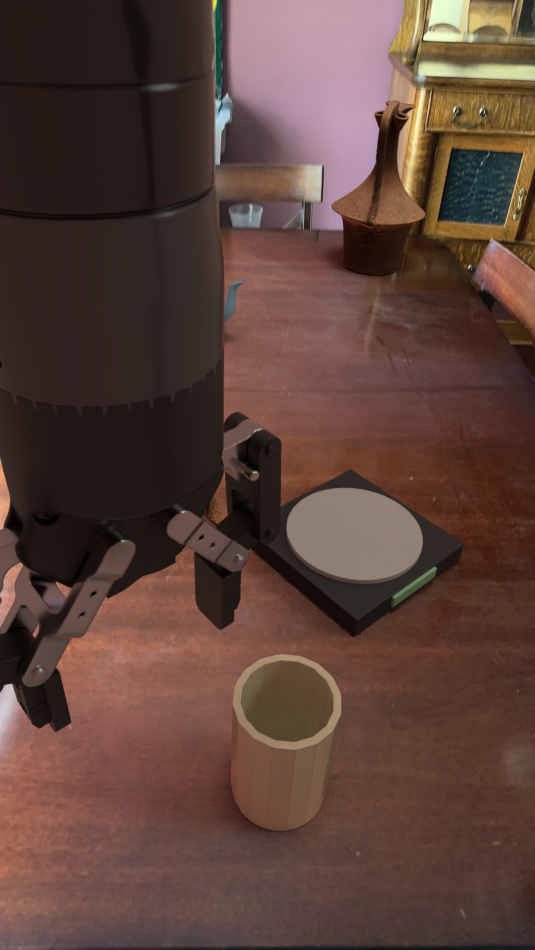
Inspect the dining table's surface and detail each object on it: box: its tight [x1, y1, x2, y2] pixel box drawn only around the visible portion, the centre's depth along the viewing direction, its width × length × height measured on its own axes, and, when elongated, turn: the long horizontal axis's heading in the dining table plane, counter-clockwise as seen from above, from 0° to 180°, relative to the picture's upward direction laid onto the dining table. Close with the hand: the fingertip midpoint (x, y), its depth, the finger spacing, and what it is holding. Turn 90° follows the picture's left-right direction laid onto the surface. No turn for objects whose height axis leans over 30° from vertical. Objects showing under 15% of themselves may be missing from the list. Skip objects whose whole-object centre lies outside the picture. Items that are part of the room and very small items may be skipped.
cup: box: [230, 653, 342, 832], centre depth 44 cm, size 7×7×10 cm
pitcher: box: [330, 99, 426, 276], centre depth 120 cm, size 18×17×28 cm
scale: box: [250, 469, 465, 638], centre depth 65 cm, size 15×15×3 cm
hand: (140, 661), depth 31 cm, fingers open, 8 cm apart
